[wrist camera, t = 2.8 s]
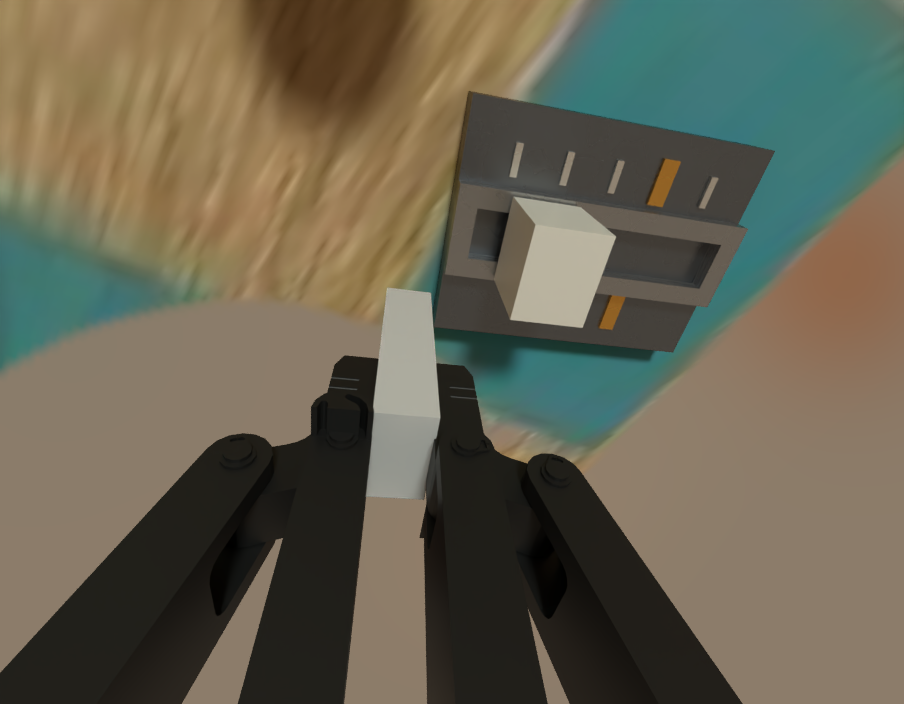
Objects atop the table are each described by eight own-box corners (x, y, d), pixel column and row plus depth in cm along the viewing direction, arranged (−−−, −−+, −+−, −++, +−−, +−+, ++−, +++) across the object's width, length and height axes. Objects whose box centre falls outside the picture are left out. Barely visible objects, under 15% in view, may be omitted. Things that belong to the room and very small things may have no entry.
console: (432, 313, 32) (434, 334, 30) (468, 90, 25) (475, 93, 22) (660, 338, 35) (679, 359, 32) (752, 145, 28) (787, 154, 25)
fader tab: (490, 271, 29) (510, 319, 23) (508, 191, 26) (535, 224, 21) (550, 279, 29) (582, 327, 24) (573, 201, 27) (616, 236, 21)
